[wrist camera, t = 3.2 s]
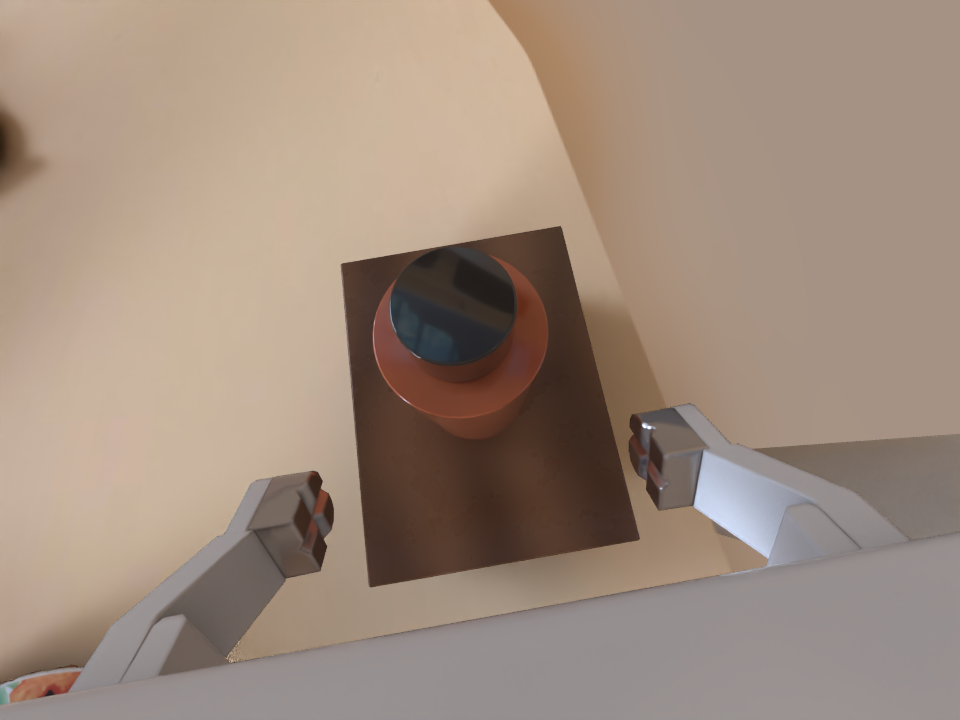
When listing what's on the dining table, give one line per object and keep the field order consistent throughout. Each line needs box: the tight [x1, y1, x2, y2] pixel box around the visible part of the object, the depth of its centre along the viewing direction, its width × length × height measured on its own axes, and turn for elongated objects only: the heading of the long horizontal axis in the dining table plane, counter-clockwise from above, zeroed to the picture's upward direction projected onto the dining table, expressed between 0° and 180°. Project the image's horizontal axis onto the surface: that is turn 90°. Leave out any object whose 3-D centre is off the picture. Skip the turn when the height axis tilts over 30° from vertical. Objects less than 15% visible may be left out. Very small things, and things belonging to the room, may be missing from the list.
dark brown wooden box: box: [341, 226, 640, 587], centre depth 24 cm, size 13×17×8 cm
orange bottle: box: [373, 246, 548, 440], centre depth 15 cm, size 5×5×11 cm
